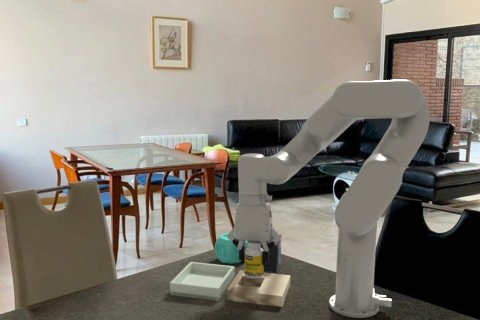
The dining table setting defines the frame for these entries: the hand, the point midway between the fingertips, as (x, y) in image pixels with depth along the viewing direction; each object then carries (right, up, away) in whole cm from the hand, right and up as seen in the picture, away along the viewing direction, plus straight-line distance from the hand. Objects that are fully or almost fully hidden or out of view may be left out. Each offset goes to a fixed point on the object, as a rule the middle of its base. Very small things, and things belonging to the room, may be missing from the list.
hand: (254, 262), depth 131 cm
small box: (+5, -6, +16) cm, 18 cm away
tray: (-14, -8, +5) cm, 17 cm away
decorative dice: (-7, -5, +26) cm, 27 cm away
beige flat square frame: (+2, -9, +1) cm, 9 cm away
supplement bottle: (0, -4, +1) cm, 4 cm away
